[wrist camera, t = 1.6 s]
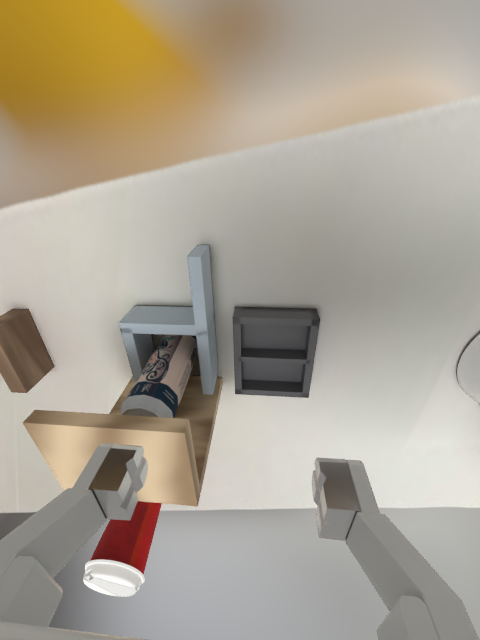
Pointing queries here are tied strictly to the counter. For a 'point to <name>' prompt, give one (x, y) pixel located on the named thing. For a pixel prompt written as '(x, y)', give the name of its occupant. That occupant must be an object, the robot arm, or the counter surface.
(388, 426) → the counter surface
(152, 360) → the beer can
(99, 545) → the coffee cup
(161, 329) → the blue grey drawer
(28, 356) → the end stop
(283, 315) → the tray
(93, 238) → the counter surface
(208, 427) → the tunnel
